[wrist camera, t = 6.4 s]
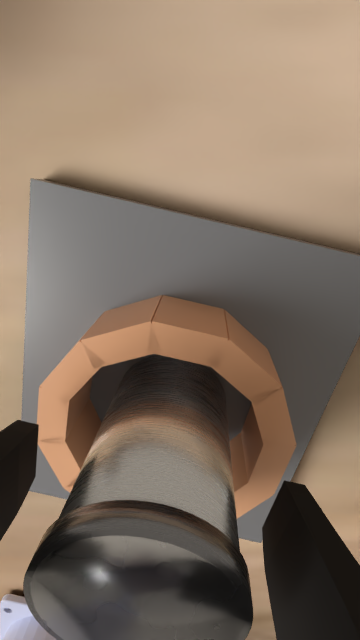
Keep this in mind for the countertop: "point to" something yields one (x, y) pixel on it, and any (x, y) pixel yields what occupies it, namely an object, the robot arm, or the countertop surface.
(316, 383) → the duct flange
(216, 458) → the silver metal cylinder
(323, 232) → the countertop surface
